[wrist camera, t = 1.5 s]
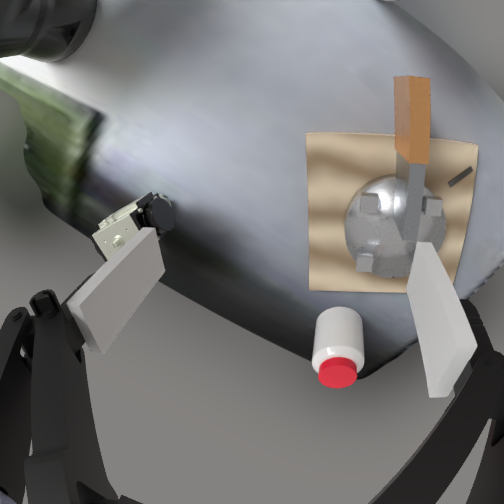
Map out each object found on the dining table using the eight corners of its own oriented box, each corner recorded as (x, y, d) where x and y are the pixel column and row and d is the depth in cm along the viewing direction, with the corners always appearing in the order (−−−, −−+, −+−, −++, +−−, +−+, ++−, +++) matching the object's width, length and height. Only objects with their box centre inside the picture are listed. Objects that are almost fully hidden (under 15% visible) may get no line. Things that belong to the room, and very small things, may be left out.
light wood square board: (306, 132, 35) (305, 134, 34) (473, 143, 30) (479, 146, 28) (309, 283, 46) (308, 290, 45) (447, 287, 41) (450, 293, 39)
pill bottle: (372, 323, 47) (376, 376, 38) (338, 346, 51) (336, 398, 42) (339, 298, 46) (338, 352, 37) (306, 324, 50) (298, 376, 41)
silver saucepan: (430, 268, 38) (446, 307, 31) (341, 265, 41) (342, 306, 34) (449, 84, 26) (481, 88, 19) (341, 75, 29) (346, 71, 22)
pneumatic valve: (197, 205, 43) (157, 247, 33) (140, 231, 48) (97, 273, 38) (178, 171, 41) (132, 205, 31) (122, 202, 46) (75, 238, 36)
